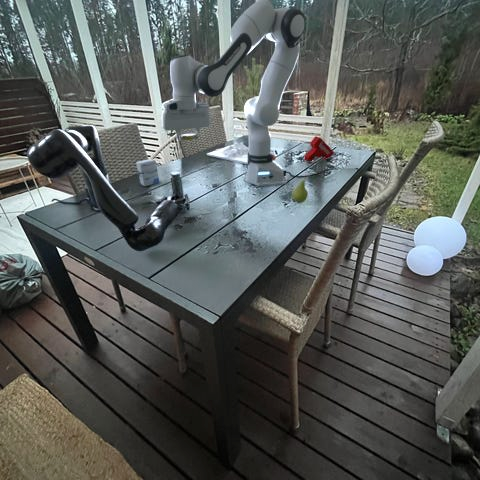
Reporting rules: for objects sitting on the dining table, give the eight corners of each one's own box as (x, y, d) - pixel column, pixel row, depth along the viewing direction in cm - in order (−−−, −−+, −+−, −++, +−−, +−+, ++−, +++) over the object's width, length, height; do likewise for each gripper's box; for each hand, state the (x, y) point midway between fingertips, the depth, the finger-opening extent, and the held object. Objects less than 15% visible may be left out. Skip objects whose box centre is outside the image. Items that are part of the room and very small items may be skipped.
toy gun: (305, 158, 165) (319, 136, 162) (300, 157, 168) (315, 135, 166) (320, 172, 177) (334, 152, 174) (316, 170, 180) (329, 151, 177)
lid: (191, 140, 113) (190, 136, 112) (180, 139, 114) (180, 135, 114) (196, 137, 117) (196, 133, 116) (186, 137, 119) (185, 133, 118)
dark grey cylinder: (174, 210, 115) (168, 172, 106) (184, 208, 117) (179, 170, 108) (177, 214, 112) (171, 175, 103) (186, 212, 113) (181, 174, 104)
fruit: (288, 200, 123) (290, 174, 116) (302, 197, 125) (305, 172, 119) (296, 206, 118) (299, 179, 111) (310, 203, 120) (314, 177, 114)
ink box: (155, 180, 146) (151, 158, 140) (159, 182, 143) (156, 160, 136) (140, 184, 141) (135, 161, 134) (145, 186, 138) (140, 163, 131)
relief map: (248, 164, 168) (248, 156, 165) (206, 155, 186) (206, 147, 183) (271, 154, 186) (271, 146, 183) (231, 147, 204) (231, 140, 201)
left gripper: (182, 206, 96) (196, 187, 110) (145, 203, 98) (163, 186, 112) (185, 224, 100) (198, 204, 114) (148, 221, 102) (166, 202, 116)
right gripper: (206, 101, 115) (208, 135, 123) (158, 104, 107) (163, 140, 114) (212, 102, 110) (213, 138, 118) (162, 105, 102) (167, 143, 110)
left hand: (180, 195), depth 113 cm, fingers closed on dark grey cylinder, 4 cm apart
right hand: (188, 139), depth 116 cm, fingers closed on lid, 5 cm apart
